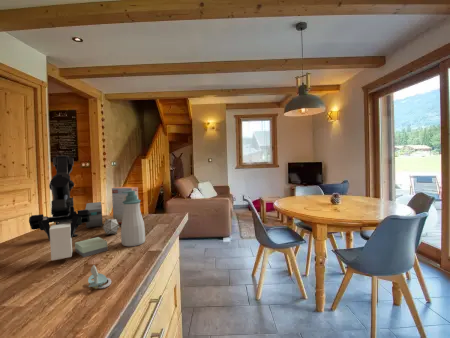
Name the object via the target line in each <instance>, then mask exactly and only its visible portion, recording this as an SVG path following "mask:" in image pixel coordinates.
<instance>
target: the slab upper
mask: <svg viewBox="0 0 450 338" xmlns="http://www.w3.org/2000/svg"><path fill="white" fill-rule="evenodd" d="M107 246H108V241H107V240H105V239H103V238H102V237H99V236H97V237H93V238H89V239H84V240H80V241H76V242H74V249H75V248H76V249H77V250H79V251H80V252H82V253H86V252H89V251H93V250H97V249H100V248H104V247H107Z"/></svg>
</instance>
